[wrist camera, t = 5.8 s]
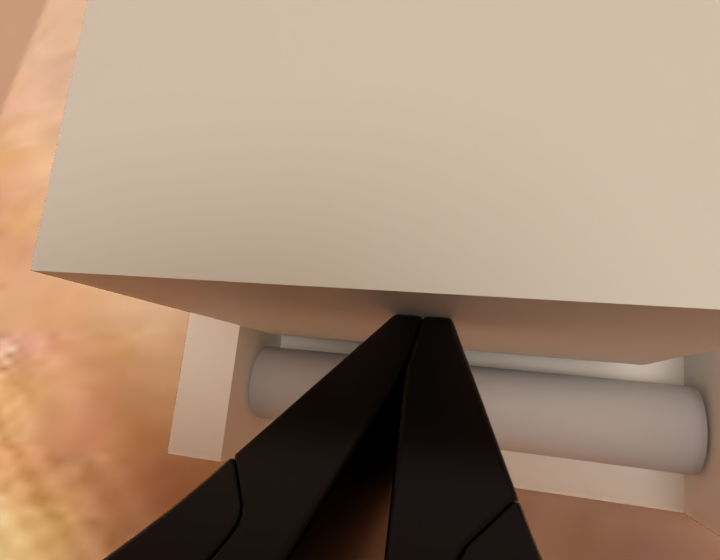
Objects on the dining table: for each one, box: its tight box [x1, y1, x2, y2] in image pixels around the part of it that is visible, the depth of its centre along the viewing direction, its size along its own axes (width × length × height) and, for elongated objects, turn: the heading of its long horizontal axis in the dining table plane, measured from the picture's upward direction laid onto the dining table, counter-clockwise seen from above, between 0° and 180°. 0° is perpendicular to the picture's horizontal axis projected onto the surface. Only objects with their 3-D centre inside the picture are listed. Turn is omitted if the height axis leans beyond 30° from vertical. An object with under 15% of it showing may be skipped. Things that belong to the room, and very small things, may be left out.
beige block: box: [31, 0, 720, 365], centre depth 11 cm, size 10×9×8 cm
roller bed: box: [167, 312, 720, 536], centre depth 16 cm, size 22×14×4 cm, turn 174°
